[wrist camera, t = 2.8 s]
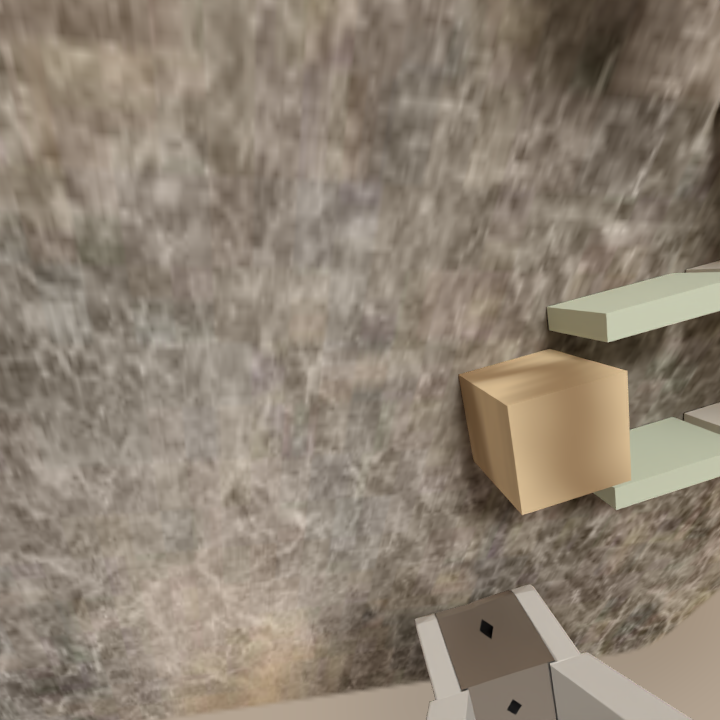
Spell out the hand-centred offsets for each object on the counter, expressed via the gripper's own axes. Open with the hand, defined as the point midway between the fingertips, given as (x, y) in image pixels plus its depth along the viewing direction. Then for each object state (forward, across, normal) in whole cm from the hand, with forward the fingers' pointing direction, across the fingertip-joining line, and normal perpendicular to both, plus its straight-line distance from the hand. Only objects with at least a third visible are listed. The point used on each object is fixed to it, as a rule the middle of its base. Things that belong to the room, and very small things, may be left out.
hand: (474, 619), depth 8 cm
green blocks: (+10, -12, 0) cm, 16 cm away
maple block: (+10, -6, 0) cm, 12 cm away
